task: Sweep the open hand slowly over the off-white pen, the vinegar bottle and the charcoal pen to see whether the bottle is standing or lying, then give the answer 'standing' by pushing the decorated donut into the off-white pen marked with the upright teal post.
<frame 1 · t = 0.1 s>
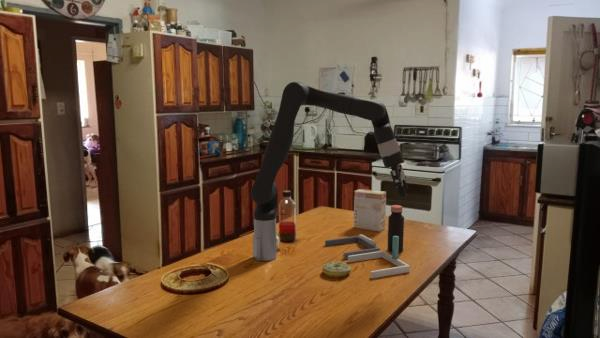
hand: (404, 193, 172), 31 cm above the table, tool tilted 20°, fingers open, 8 cm apart
coffeecake box: (369, 228, 237), on the table
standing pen: (377, 266, 184), on the table
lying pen: (351, 249, 204), on the table
decorated donut: (336, 274, 177), on the table
vinegar: (395, 250, 204), on the table
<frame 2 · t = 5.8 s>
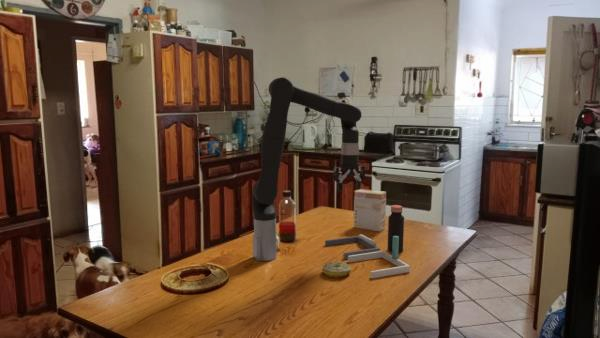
hand: (348, 190, 198), 27 cm above the table, tool pointing down, fingers open, 8 cm apart
nothing on the table moved.
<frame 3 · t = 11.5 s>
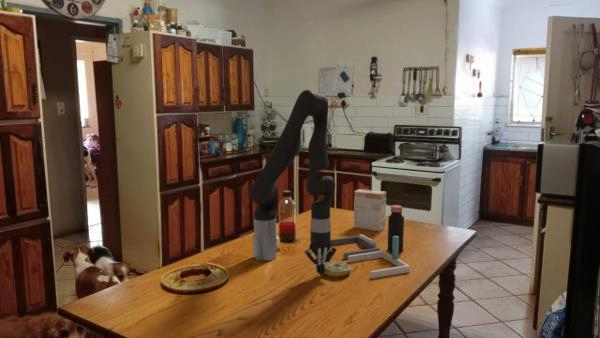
hand: (320, 273, 174), 1 cm above the table, tool pointing down, fingers closed
decorated donut: (336, 274, 177), on the table, touching gripper
everything else where it was.
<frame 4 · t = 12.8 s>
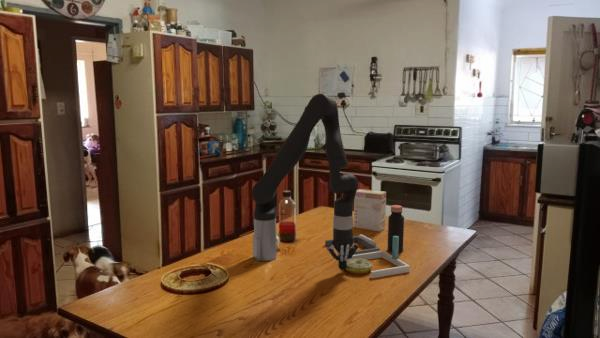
hand: (342, 269, 178), 1 cm above the table, tool pointing down, fingers closed
decorated donut: (358, 270, 181), on the table
everything else where it was.
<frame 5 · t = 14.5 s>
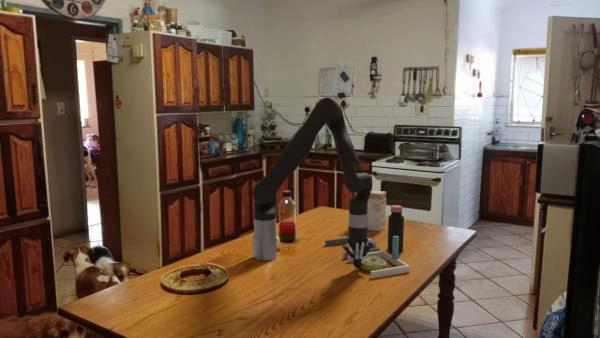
hand: (357, 267, 180), 1 cm above the table, tool pointing down, fingers closed
decorated donut: (372, 268, 183), on the table
everything else where it was.
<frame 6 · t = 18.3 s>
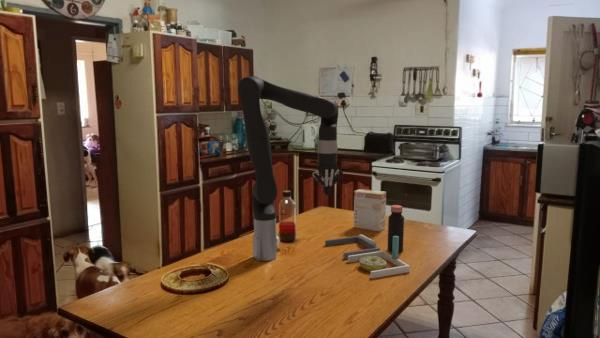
hand: (327, 195, 181), 29 cm above the table, tool pointing down, fingers closed
nothing on the table moved.
at the end: decorated donut inside the target area on the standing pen (1.8 cm from its centre), point -0.5 cm above the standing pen's base; decorated donut moved 16.2 cm from its start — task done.
